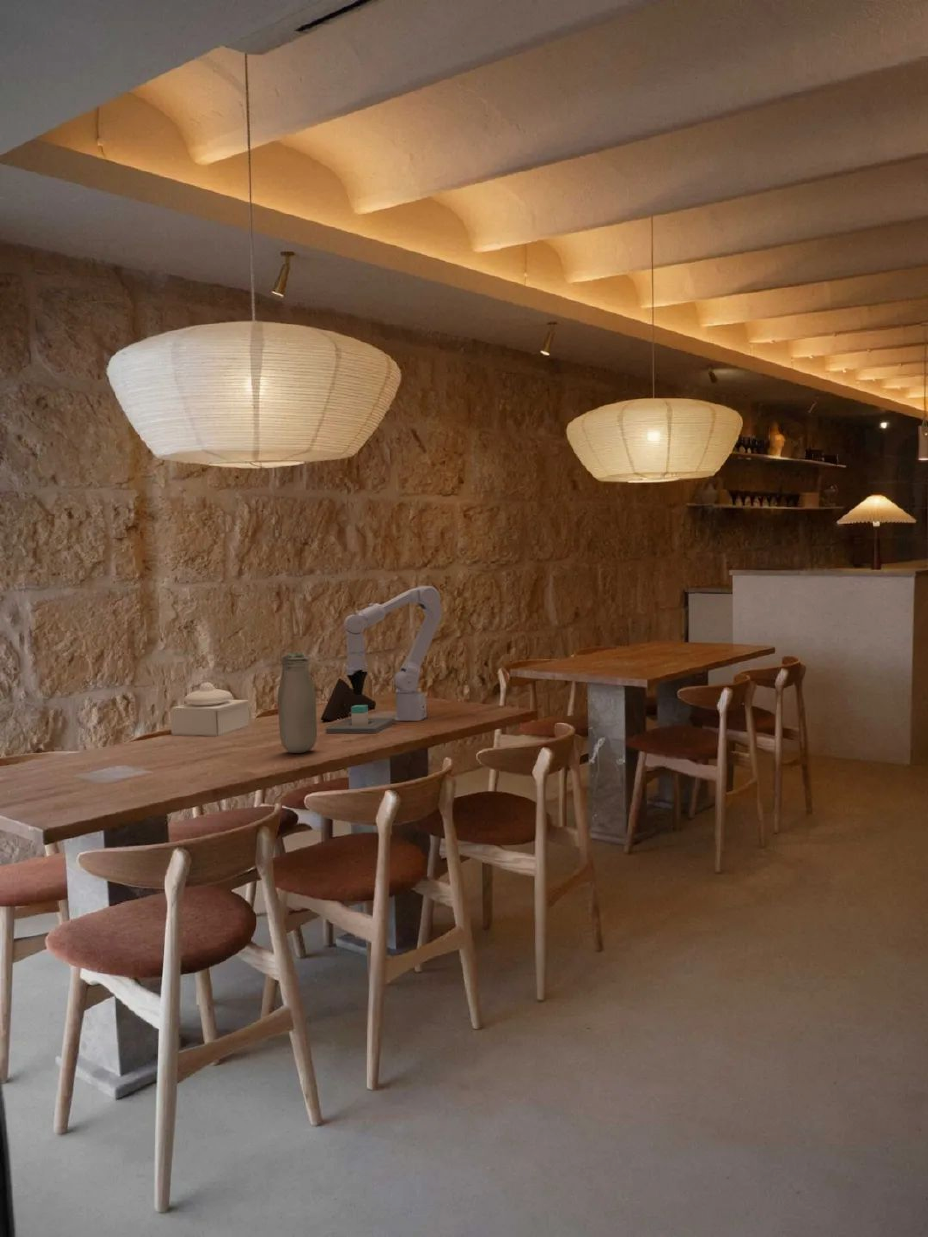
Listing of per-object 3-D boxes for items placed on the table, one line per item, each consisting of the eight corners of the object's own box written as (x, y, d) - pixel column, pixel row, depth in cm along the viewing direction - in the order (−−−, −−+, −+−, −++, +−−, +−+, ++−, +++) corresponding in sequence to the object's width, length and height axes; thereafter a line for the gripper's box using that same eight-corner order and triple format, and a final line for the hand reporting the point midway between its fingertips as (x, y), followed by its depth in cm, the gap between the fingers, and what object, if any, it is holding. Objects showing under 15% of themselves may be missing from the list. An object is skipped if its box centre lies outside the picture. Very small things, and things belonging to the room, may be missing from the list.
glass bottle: (297, 757, 269) (291, 654, 267) (274, 753, 276) (268, 653, 274) (325, 751, 276) (319, 650, 274) (302, 747, 283) (296, 649, 281)
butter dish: (204, 725, 331) (201, 678, 330) (250, 726, 325) (247, 678, 323) (171, 735, 315) (168, 685, 314) (219, 736, 308) (216, 685, 307)
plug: (368, 727, 312) (367, 705, 311) (364, 729, 308) (363, 707, 307) (356, 727, 313) (355, 705, 312) (352, 729, 309) (350, 707, 308)
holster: (357, 744, 345) (316, 718, 326) (369, 700, 351) (330, 672, 332) (369, 745, 342) (328, 718, 323) (381, 701, 349) (342, 672, 329)
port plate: (394, 722, 317) (394, 718, 317) (375, 733, 300) (375, 728, 299) (348, 723, 321) (347, 718, 321) (326, 733, 304) (325, 728, 304)
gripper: (352, 650, 325) (354, 691, 326) (335, 655, 311) (338, 698, 312) (372, 649, 323) (374, 691, 324) (357, 654, 309) (359, 698, 310)
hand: (358, 694), depth 318 cm, fingers closed
